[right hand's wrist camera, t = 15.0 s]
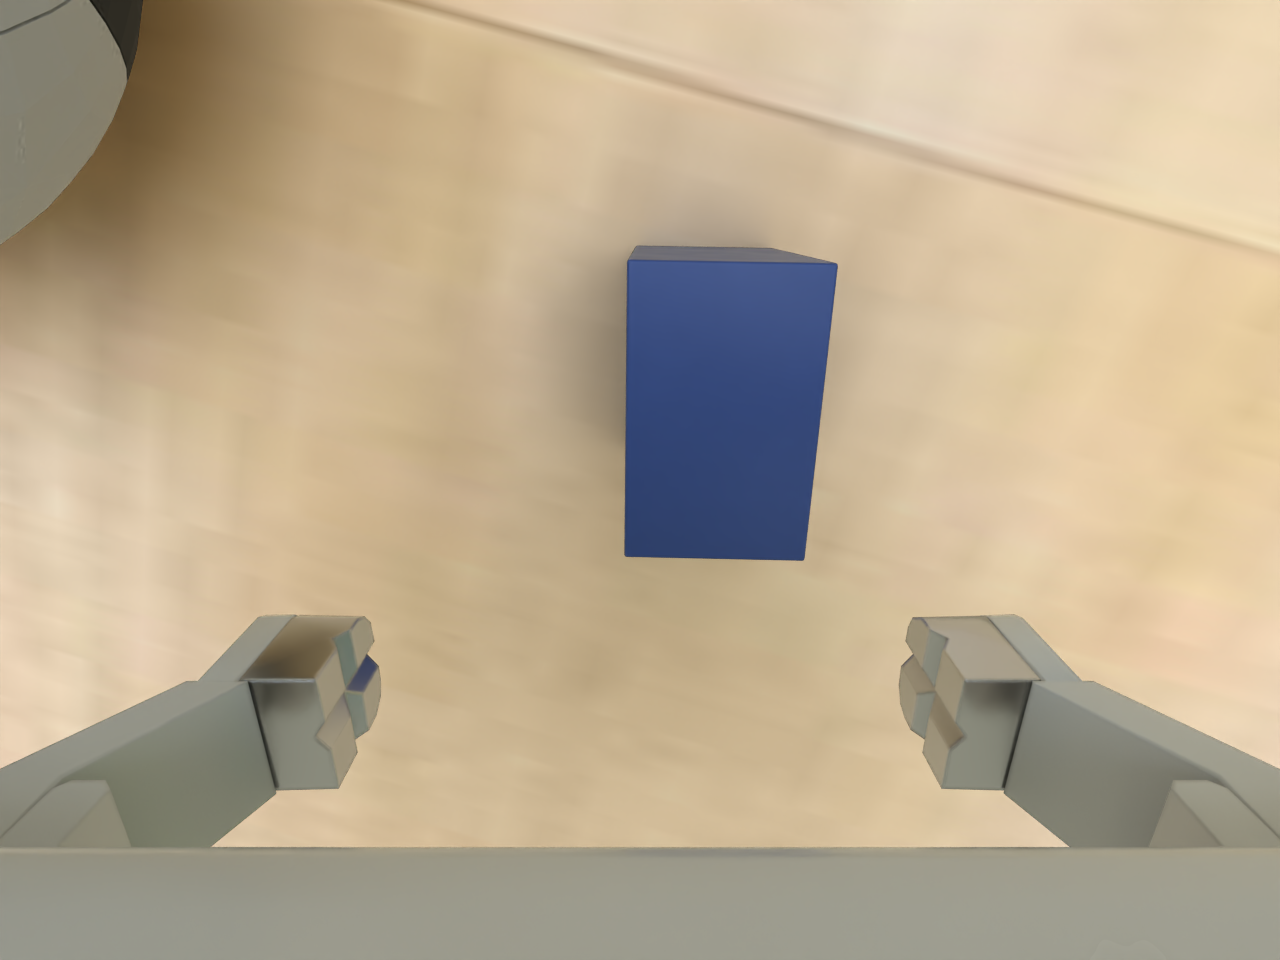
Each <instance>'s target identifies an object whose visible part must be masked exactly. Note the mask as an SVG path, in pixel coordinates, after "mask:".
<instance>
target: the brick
mask: <svg viewBox="0 0 1280 960" xmlns="http://www.w3.org/2000/svg"><path fill="white" fill-rule="evenodd" d="M837 268H838V265H837V264H836V263H833V262H829V261H825V260H820V259H816V258H812V257H807V256H803V255H799V254H795V253H790V252H786V251H782V250H777V249H773V248H735V247H679V246H636V247H635V249H634V251H633V253H632V254H631V256H630V258H629V259H628V261H627V331H626V439H625V547H624V555H625V556H626V557H661V558H706V559H752V560H797V561H803V560H804V558H805V549H806V540H807V532H808V523H809V514H810V505H811V497H812V488H813V479H814V470H815V461H816V453H817V444H818V435H819V426H820V417H821V409H822V400H823V391H824V382H825V373H826V365H827V356H828V347H829V338H830V330H831V321H832V312H833V303H834V294H835V286H836V277H837Z"/></svg>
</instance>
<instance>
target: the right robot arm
mask: <svg viewBox="0 0 1280 960" xmlns="http://www.w3.org/2000/svg"><path fill="white" fill-rule="evenodd" d="M373 643H374V637H373V632H372V627H371V622H370V621H369V620H368V619H367V618H366V617H365V616H325V615H299V616H298V615H265V616H261V617H258V618H257V619H256V620H255V621H254V622H253V623H252V624H251V625H250V626H249V627H248V629H247V630H246V631H245V632H244V633H243V634H242V635H241V636H240V637H239V638H238V639H237V640H236V641H235V642H234V643H233V644H232V645H231V647H230V648H229V649H228V650H227V651H226V652H225V653H224V654H223V655H222V656H221V657H220V658H219V659H218V660H217V661H216V662H215V663H214V665H213V666H212V667H211V668H210V669H209V670H208V671H207V672H206V673H205V674H204V675H203V676H202V677H201V678H200V679H199V680H198V681H186V682H184V683H182V684H180V685H177V686H175V687H173V688H171V689H169V690H167V691H165V692H163V693H160V694H158V695H156V696H154V697H152V698H150V699H148V700H146V701H143V702H141V703H139V704H137V705H135V706H133V707H131V708H129V709H126V710H124V711H122V712H120V713H118V714H116V715H114V716H112V717H109V718H107V719H105V720H103V721H101V722H99V723H97V724H95V725H92V726H90V727H88V728H86V729H84V730H82V731H80V732H78V733H75V734H73V735H71V736H69V737H67V738H65V739H63V740H61V741H58V742H56V743H54V744H52V745H50V746H48V747H46V748H44V749H41V750H39V751H37V752H35V753H33V754H31V755H29V756H27V757H24V758H22V759H20V760H18V761H16V762H14V763H12V764H10V765H7V766H5V767H3V768H1V769H0V960H1280V769H1278V768H1276V767H1274V766H1272V765H1270V764H1268V763H1266V762H1264V761H1261V760H1259V759H1257V758H1255V757H1253V756H1251V755H1249V754H1247V753H1245V752H1242V751H1240V750H1238V749H1236V748H1234V747H1232V746H1230V745H1228V744H1225V743H1223V742H1221V741H1219V740H1217V739H1215V738H1213V737H1211V736H1208V735H1206V734H1204V733H1202V732H1200V731H1198V730H1196V729H1194V728H1192V727H1189V726H1187V725H1185V724H1183V723H1181V722H1179V721H1177V720H1175V719H1172V718H1170V717H1168V716H1166V715H1164V714H1162V713H1160V712H1158V711H1156V710H1153V709H1151V708H1149V707H1147V706H1145V705H1143V704H1141V703H1139V702H1136V701H1134V700H1132V699H1130V698H1128V697H1126V696H1124V695H1122V694H1119V693H1117V692H1115V691H1113V690H1111V689H1109V688H1107V687H1105V686H1103V685H1100V684H1098V683H1096V682H1094V681H1082V680H1081V679H1080V678H1079V677H1078V676H1077V675H1076V674H1075V673H1074V672H1073V671H1072V670H1071V669H1070V668H1069V667H1068V666H1067V664H1066V663H1065V662H1064V661H1063V660H1062V659H1061V658H1060V657H1059V656H1058V655H1057V654H1056V653H1055V652H1054V651H1053V650H1052V649H1051V647H1050V646H1049V645H1048V644H1047V643H1046V642H1045V641H1044V640H1043V639H1042V638H1041V637H1040V636H1039V635H1038V634H1037V633H1036V632H1035V631H1034V629H1033V628H1032V627H1031V626H1030V625H1029V624H1028V623H1027V622H1026V621H1025V620H1024V619H1023V618H1021V617H1019V616H1017V615H1014V614H1009V615H981V616H953V617H913V618H912V620H911V622H910V624H909V626H908V631H907V636H906V643H907V644H908V646H909V648H910V649H911V651H912V653H913V655H912V656H911V657H910V658H909V659H908V660H907V661H906V662H905V663H904V664H903V665H902V666H901V672H900V680H899V693H900V704H901V707H902V711H903V714H904V717H905V719H906V721H907V723H908V725H909V727H910V729H911V730H912V731H913V732H915V733H916V734H918V735H919V736H921V737H922V738H923V739H925V742H924V747H923V752H922V753H923V755H924V756H925V758H926V760H927V762H928V764H929V766H930V768H931V770H932V772H933V773H934V775H935V777H936V779H937V781H938V783H939V785H940V787H941V789H972V790H1004V794H1005V795H1006V796H1008V797H1009V798H1010V799H1011V800H1013V801H1014V802H1015V803H1016V804H1017V805H1019V806H1020V807H1021V808H1022V809H1024V810H1025V811H1026V812H1027V813H1029V814H1030V815H1031V816H1032V817H1033V818H1035V819H1036V820H1037V821H1038V822H1040V823H1041V824H1042V825H1043V826H1045V827H1046V828H1047V829H1048V830H1049V831H1051V832H1052V833H1053V834H1054V835H1056V836H1057V837H1058V838H1059V839H1061V840H1062V841H1063V842H1064V843H1066V844H1067V845H1068V846H1069V847H211V846H212V845H213V844H215V843H216V842H217V841H218V840H220V839H221V838H222V837H223V836H225V835H226V834H227V833H228V832H229V831H231V830H232V829H233V828H234V827H236V826H237V825H238V824H239V823H241V822H242V821H243V820H244V819H246V818H247V817H248V816H249V815H250V814H252V813H253V812H254V811H255V810H257V809H258V808H259V807H260V806H262V805H263V804H264V803H265V802H267V801H268V800H269V799H270V798H271V797H273V796H274V795H275V794H276V790H307V789H339V787H340V785H341V783H342V781H343V779H344V777H345V775H346V774H347V772H348V770H349V768H350V766H351V764H352V762H353V760H354V758H355V756H356V755H357V753H358V752H357V747H356V742H355V739H357V738H358V737H359V736H361V735H362V734H364V733H365V732H367V731H368V730H369V729H370V727H371V725H372V723H373V721H374V719H375V717H376V715H377V711H378V706H379V702H380V697H381V678H380V671H379V666H378V665H377V664H376V663H375V662H374V661H373V660H372V659H371V658H370V657H369V656H368V655H367V653H368V651H369V649H370V648H371V646H372V644H373Z"/></svg>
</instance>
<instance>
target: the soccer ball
mask: <svg viewBox="0 0 1280 960" xmlns="http://www.w3.org/2000/svg"><path fill="white" fill-rule="evenodd" d="M142 3H143V0H0V244H2V243H3V242H5V241H6V240H8V239H9V238H10V237H12V236H13V235H15V234H16V233H17V232H19V231H20V230H21V229H22V228H24V227H25V226H26V225H27V224H29V223H30V222H31V221H32V220H33V219H35V218H36V217H37V216H38V215H40V214H41V213H42V212H43V211H44V210H46V209H47V208H48V207H49V206H50V205H51V204H52V203H53V201H54V200H55V199H56V198H57V197H58V196H59V195H60V194H61V193H62V191H63V190H64V189H65V188H66V187H67V186H68V185H69V184H70V183H71V181H72V180H73V179H74V178H75V176H76V175H77V174H78V172H79V171H80V170H81V169H82V167H83V166H84V165H85V164H86V162H87V161H88V160H89V159H90V157H91V156H92V155H93V153H94V152H95V150H96V148H97V147H98V145H99V143H100V141H101V140H102V138H103V136H104V134H105V133H106V131H107V129H108V127H109V125H110V124H111V122H112V120H113V118H114V116H115V113H116V111H117V108H118V105H119V103H120V100H121V98H122V95H123V93H124V90H125V87H126V84H127V81H128V78H129V75H130V72H131V68H132V65H133V61H134V58H135V54H136V51H137V44H138V36H139V28H140V20H141V12H142Z"/></svg>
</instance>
